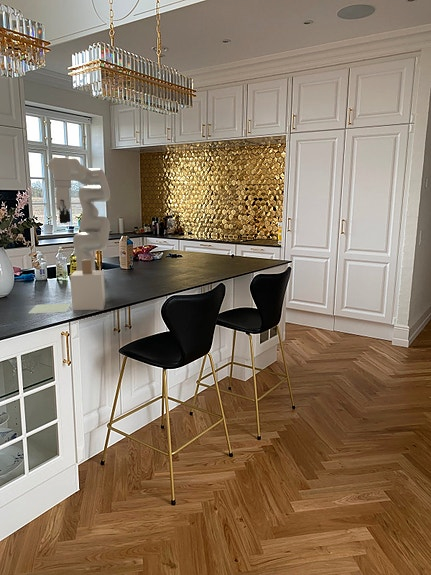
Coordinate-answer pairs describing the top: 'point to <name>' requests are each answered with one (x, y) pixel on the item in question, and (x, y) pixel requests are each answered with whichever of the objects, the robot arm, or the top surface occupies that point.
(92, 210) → the robot arm
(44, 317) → the top surface
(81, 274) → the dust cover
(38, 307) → the mat
